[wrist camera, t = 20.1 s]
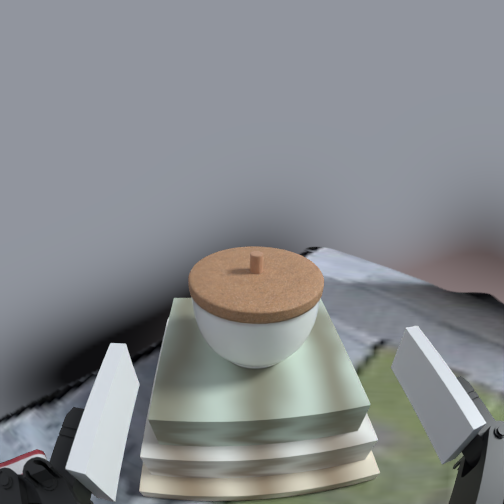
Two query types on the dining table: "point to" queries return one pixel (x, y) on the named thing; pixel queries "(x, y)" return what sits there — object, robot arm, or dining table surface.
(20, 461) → the dish towel
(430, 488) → the dining table surface
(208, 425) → the brick tower
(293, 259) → the lidded jar
